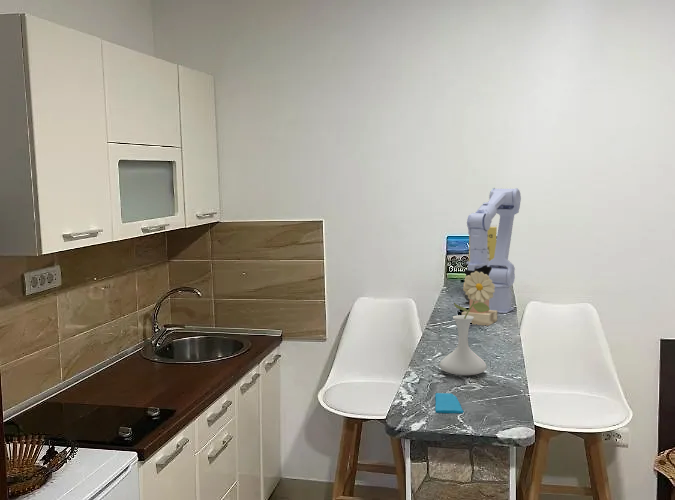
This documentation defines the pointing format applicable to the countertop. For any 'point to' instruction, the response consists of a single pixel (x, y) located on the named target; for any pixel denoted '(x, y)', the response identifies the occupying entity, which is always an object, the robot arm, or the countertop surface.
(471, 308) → the terracotta cube
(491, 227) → the pasta box
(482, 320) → the birch base
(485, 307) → the flower in vase
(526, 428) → the countertop surface
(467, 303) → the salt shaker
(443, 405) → the sponge
